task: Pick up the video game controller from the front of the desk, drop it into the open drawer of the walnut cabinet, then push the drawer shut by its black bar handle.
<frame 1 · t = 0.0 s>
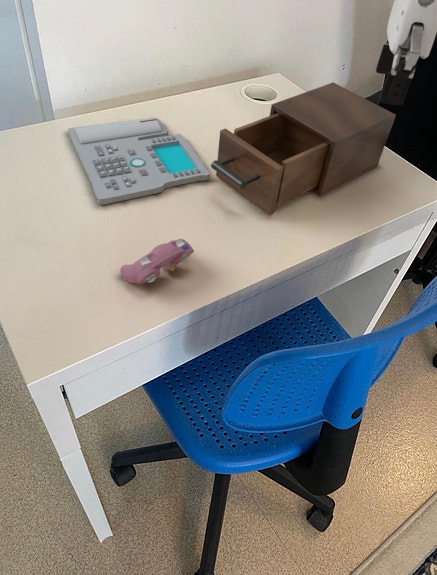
hand: (388, 87, 72), 20 cm above the table, tool pointing down, fingers open, 9 cm apart
cabinet: (320, 162, 94), on the table
office telephone: (137, 158, 90), on the table
drawer: (269, 162, 83), point 5 cm above the table, slide at 11.0 cm
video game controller: (158, 273, 71), on the table
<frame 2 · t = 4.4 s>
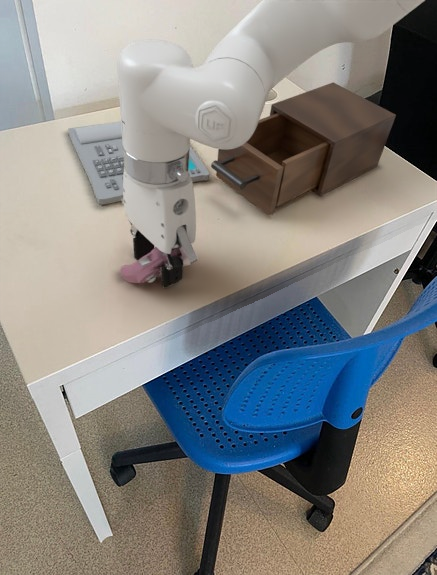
hand: (157, 268, 70), 1 cm above the table, tool pointing down, fingers closed on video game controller, 5 cm apart
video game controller: (158, 273, 71), on the table, touching gripper
everything else where it was.
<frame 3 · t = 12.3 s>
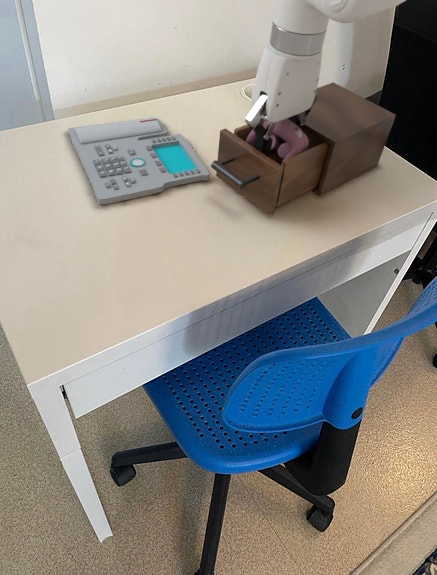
hand: (275, 149, 82), 7 cm above the table, tool pointing down, fingers closed on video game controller, 5 cm apart
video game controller: (273, 155, 83), point 6 cm above the table, touching gripper
everything else where it was.
when the fingers open (7 cm above the table, at t = 12.9 s): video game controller drops 4 cm, resting on drawer.
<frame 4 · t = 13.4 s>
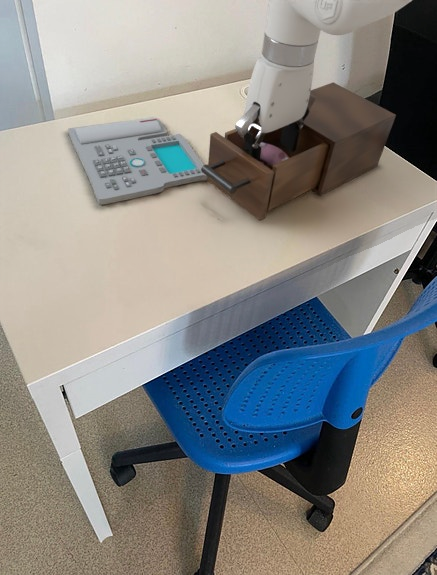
hand: (269, 156, 82), 6 cm above the table, tool pointing down, fingers open, 8 cm apart
drawer: (260, 166, 82), point 5 cm above the table, slide at 13.0 cm, touching gripper, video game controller
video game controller: (262, 181, 85), point 2 cm above the table, touching drawer
everything else where it was.
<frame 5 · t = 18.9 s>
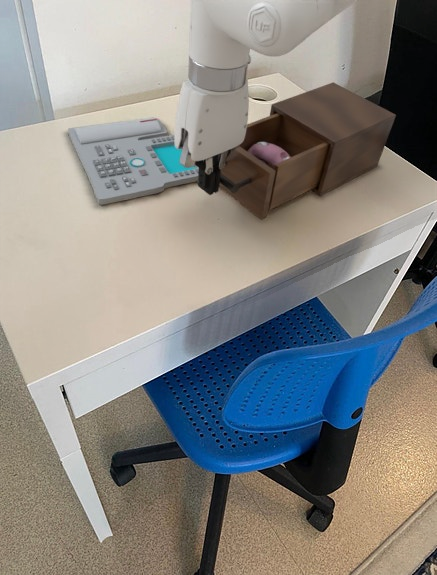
hand: (208, 189, 77), 5 cm above the table, tool pointing down, fingers closed
drawer: (261, 165, 82), point 5 cm above the table, slide at 12.7 cm, touching gripper, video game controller
everything else where it was.
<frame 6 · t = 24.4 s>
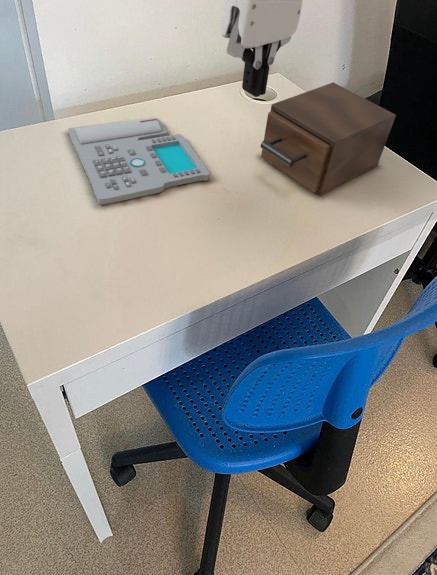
hand: (253, 91, 70), 19 cm above the table, tool pointing down, fingers closed
drawer: (312, 143, 88), point 5 cm above the table, slide at 0.0 cm, touching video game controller
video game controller: (313, 158, 91), point 2 cm above the table, touching drawer
everything else where it was.
at the end: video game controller inside the target area in the cabinet (2.7 cm from its centre), point 1.8 cm above the cabinet's base; drawer slide at 0.0 cm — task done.
